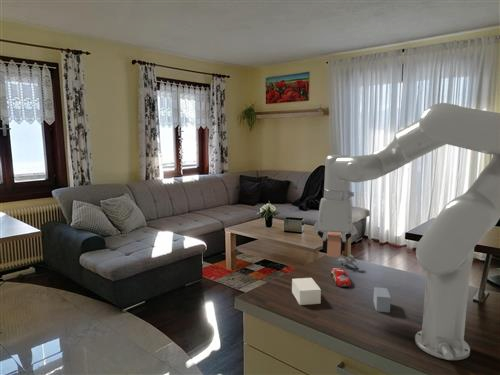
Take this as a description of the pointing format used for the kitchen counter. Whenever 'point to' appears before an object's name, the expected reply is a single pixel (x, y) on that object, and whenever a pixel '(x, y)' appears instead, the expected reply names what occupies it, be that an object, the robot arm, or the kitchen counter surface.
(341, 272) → the race car
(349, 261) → the elephant figurine
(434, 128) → the robot arm
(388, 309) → the slate brick
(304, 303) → the cream brick
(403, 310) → the kitchen counter surface
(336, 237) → the terracotta brick
